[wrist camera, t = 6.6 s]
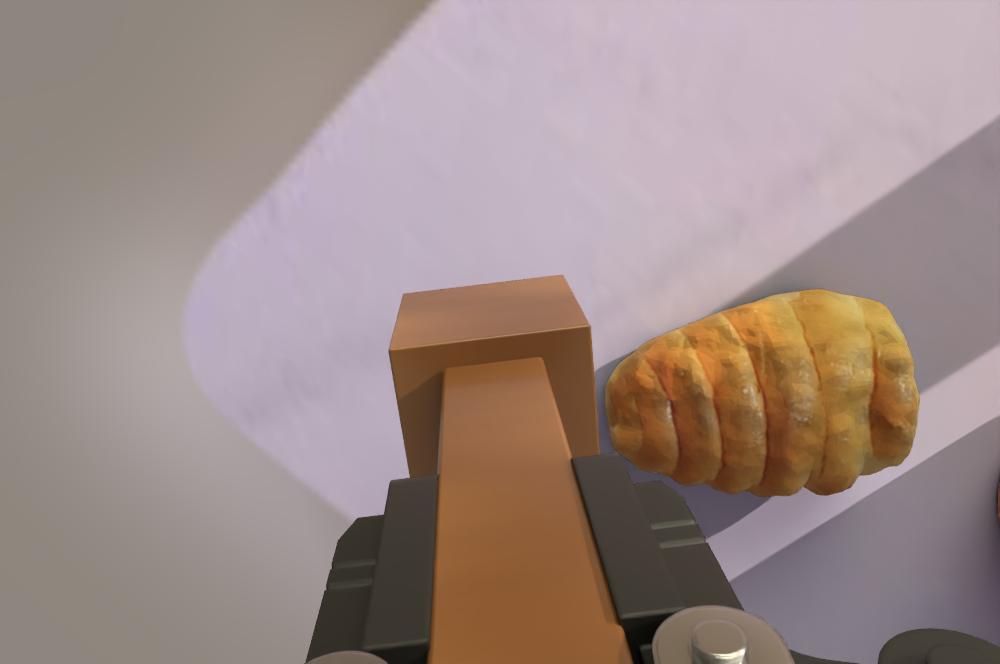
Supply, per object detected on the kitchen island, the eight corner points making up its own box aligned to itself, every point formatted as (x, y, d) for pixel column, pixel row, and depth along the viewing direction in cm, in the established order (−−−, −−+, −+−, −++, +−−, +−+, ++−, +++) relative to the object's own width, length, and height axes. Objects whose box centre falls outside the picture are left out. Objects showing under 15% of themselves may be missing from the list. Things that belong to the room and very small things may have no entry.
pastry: (608, 488, 27) (631, 550, 23) (591, 308, 24) (613, 346, 21) (868, 452, 27) (932, 509, 23) (873, 270, 24) (944, 301, 21)
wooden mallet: (420, 404, 19) (350, 978, 7) (402, 293, 18) (286, 733, 6) (573, 385, 19) (771, 922, 7) (564, 274, 18) (776, 670, 6)
